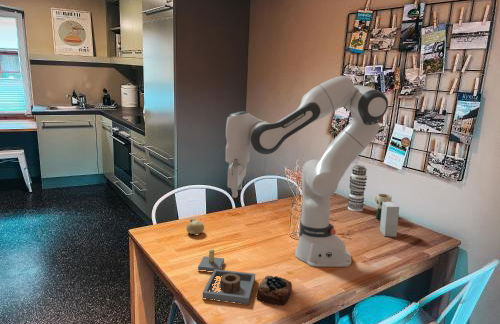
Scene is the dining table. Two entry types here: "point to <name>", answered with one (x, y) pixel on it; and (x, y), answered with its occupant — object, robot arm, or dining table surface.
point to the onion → (195, 226)
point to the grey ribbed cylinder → (357, 188)
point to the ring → (230, 283)
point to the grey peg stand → (211, 262)
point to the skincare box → (389, 219)
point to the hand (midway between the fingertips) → (237, 193)
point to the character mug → (379, 200)
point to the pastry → (274, 290)
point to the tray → (237, 297)
